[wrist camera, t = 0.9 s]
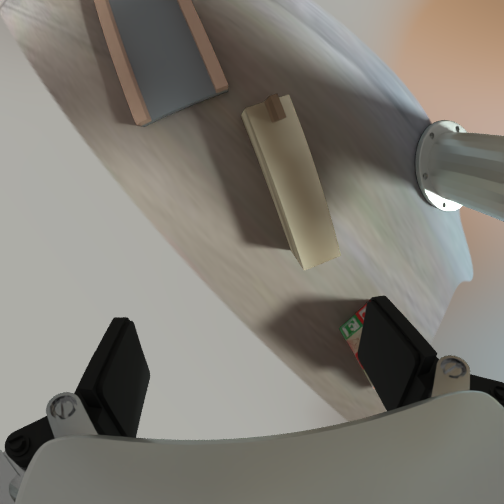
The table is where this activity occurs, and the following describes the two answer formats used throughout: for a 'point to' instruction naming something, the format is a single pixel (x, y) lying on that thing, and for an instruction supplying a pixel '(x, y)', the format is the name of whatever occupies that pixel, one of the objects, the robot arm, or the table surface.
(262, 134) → the tapered cream block
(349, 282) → the table surface
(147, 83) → the jig cradle
